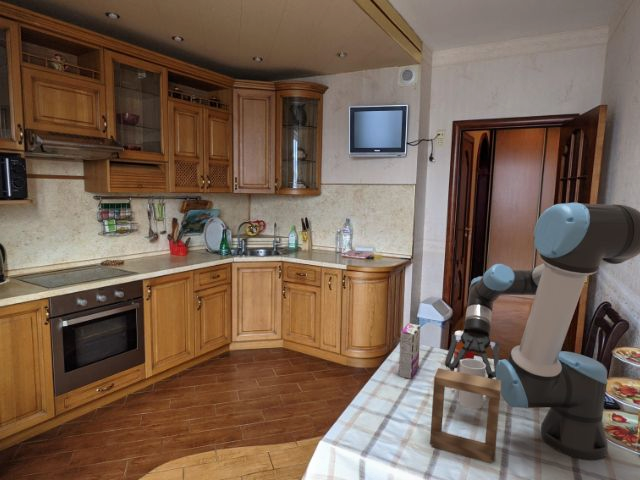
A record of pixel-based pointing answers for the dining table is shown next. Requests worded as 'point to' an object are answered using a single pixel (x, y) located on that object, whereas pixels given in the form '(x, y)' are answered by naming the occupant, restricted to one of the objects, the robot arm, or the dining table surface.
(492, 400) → the brown wooden frame
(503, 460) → the dining table surface
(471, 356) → the coffee cup
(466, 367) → the mug
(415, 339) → the candy bar box
